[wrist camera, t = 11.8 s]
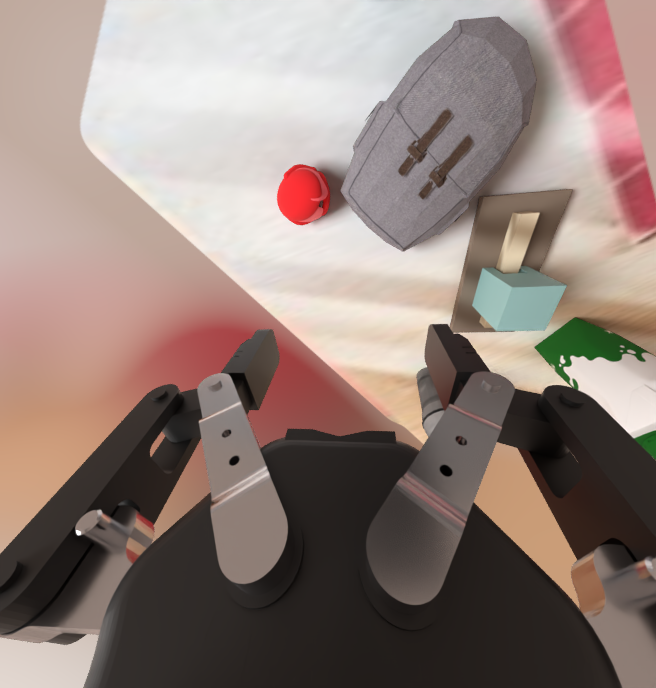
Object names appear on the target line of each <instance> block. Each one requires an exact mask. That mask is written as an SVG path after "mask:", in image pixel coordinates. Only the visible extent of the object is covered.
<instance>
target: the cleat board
mask: <svg viewBox="0 0 656 688" xmlns="http://www.w3.org/2000/svg"><path fill="white" fill-rule="evenodd" d="M571 193H572V190H571V189H564V190H553V191H541V192H530V193H519V194H507V195H496V196H484V197H480V198H479V202H478V206H477V211H476V215H475V219H474V224H473V228H472V232H471V237H470V241H469V245H468V250H467V254H466V258H465V263H464V267H463V271H462V276H461V280H460V284H459V289H458V293H457V297H456V302H455V306H454V310H453V315H452V319H451V323H450V329H451V330H452V332H453V333H459V332H514V331H496V330H495V329H494V328H493V327H492V326H491V325H490V324H489V323H488V322H487V321H486V320H485V319H484V318H483V317H482V316H481V315H480V313H479V312H478V311H477V310H476V309H475V308H474V307H473V306H472V304H473V301H474V297H475V293H476V290H477V286H478V282H479V279H480V275H481V272H482V268H492V267H493V268H495V269H496V270H498V271H499V272H501V273H503V274H512V273H518V272H519V269H520V266H528V267H530V268H532V269H534V270H536V271H538V272H539V271H540V268H541V266H542V263H543V261H544V258H545V256H546V254H547V251H548V249H549V246H550V244H551V241H552V239H553V236H554V234H555V232H556V229H557V227H558V224H559V222H560V219H561V217H562V214H563V212H564V210H565V207H566V205H567V202H568V200H569V197H570V195H571Z"/></svg>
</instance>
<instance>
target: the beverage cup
mask: <svg viewBox="0 0 656 688" xmlns="http://www.w3.org/2000/svg"><path fill="white" fill-rule="evenodd" d="M417 384H418V390H419V396H420V401H421V407H422V420H423V422H422V425H423V428H424V430H425V432H426V434H427V435H428V437H429V436H430V434H431V433H432V431H433V430H434V428H435V426H436V425H437V423H438V422H439V420H440V418H441V417H442V415H443V414H444V409H443V406H442V404H441V401H440V398H439V396H438V393H437V391H436V388H435V385H434V383H433V380H432V378H431V375H430V372H429V370H428V368H424V369H422V370H420V371H419V372H418V374H417Z"/></svg>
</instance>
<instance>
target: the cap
mask: <svg viewBox="0 0 656 688" xmlns="http://www.w3.org/2000/svg"><path fill="white" fill-rule="evenodd" d="M322 200H323V205H322V207H319V204H320V201H322ZM277 202H278V206H279V209H280V211H281V212H282V214H283V215H284V216H285V217H287V218H288V220H290V221H291V222H293V223H295V224H297V225H305V224H308V223H310V222H312V221H314V220H316V219H318V218H320V217H321V216H323V215H325V214H326V213H327V211H328V208H329V203H330V191H329V186H328V183H327V180H326V178H325V176H324V174H323V173H321V172H319V171H317V170H316V168H314V167H310V166H307V165H301V164H299V165H295V166H293V167H292V168H290V169H289V170H288V171H287V172H286V173H285V174H284V179H283V181H282V182H281V184H280V186H279V189H278V194H277Z"/></svg>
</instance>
